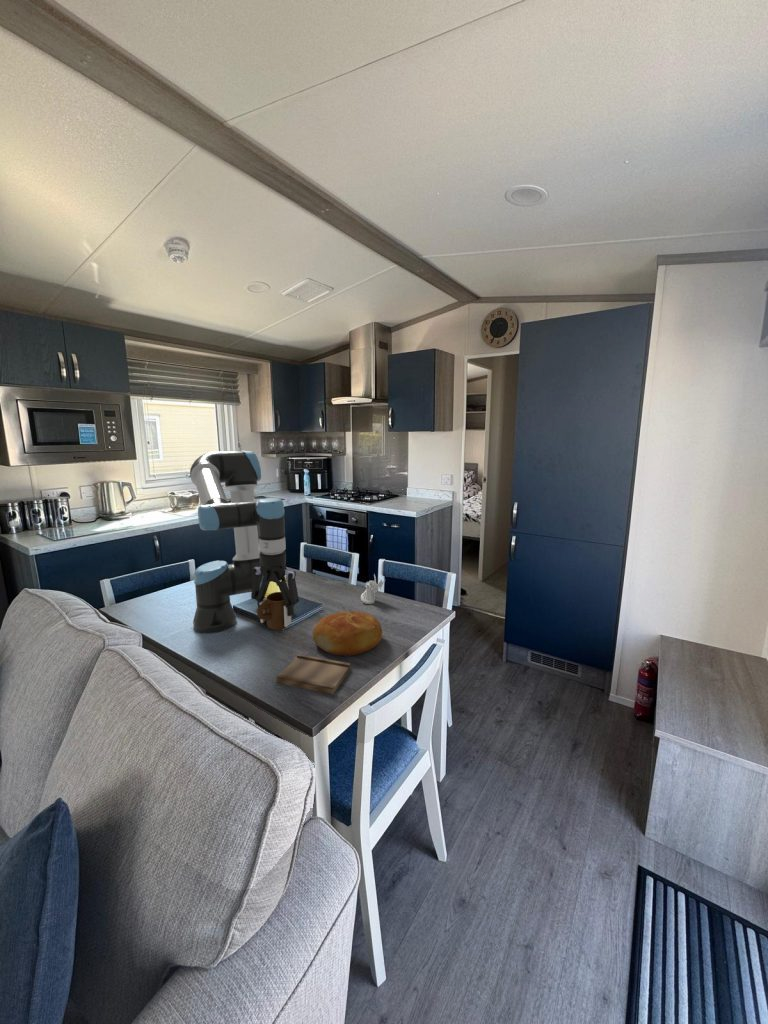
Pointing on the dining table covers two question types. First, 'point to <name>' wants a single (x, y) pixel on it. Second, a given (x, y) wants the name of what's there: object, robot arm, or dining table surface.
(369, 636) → the bread
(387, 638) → the dining table surface
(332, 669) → the board
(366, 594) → the figurine
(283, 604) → the mug
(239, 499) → the robot arm
